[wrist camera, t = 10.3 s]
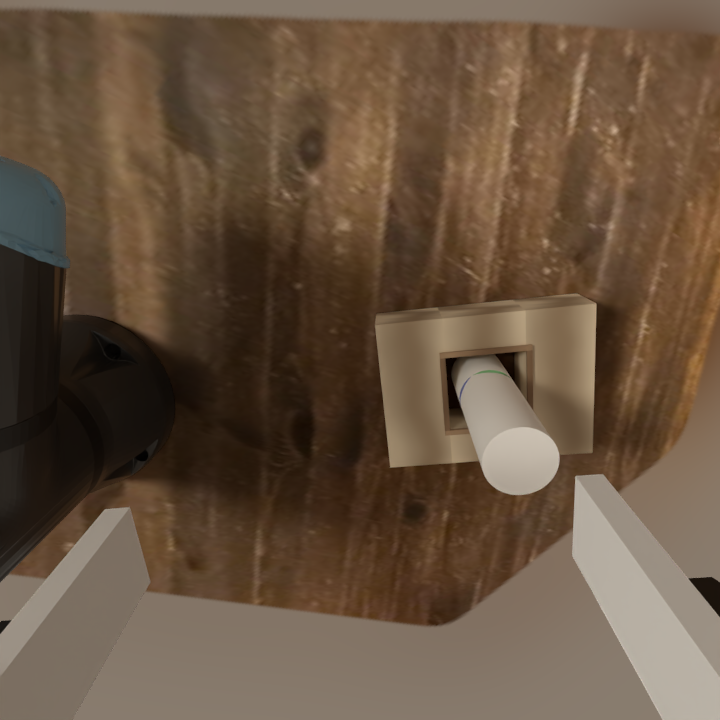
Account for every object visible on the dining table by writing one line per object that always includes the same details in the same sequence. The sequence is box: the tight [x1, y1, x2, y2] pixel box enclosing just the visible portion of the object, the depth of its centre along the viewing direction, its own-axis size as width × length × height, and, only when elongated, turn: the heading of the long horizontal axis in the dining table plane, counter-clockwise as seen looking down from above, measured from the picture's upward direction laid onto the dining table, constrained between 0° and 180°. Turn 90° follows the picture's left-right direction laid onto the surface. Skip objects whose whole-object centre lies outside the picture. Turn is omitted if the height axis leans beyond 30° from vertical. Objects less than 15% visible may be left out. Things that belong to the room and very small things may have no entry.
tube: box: [451, 354, 559, 495], centre depth 36 cm, size 4×4×15 cm
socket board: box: [375, 293, 597, 468], centre depth 41 cm, size 16×12×4 cm
